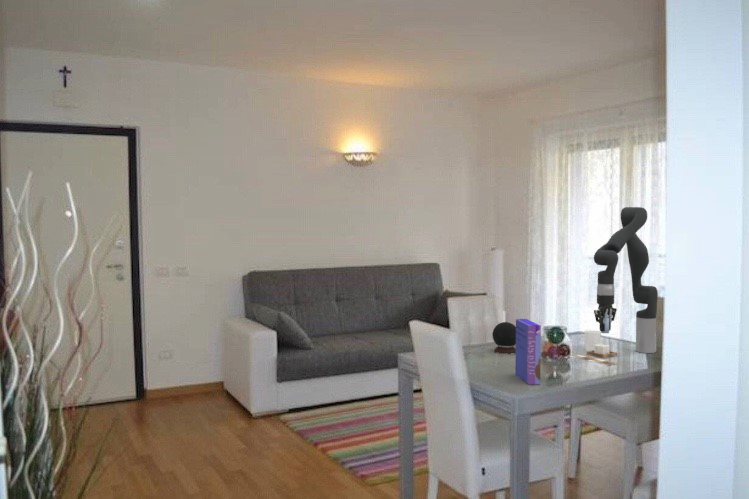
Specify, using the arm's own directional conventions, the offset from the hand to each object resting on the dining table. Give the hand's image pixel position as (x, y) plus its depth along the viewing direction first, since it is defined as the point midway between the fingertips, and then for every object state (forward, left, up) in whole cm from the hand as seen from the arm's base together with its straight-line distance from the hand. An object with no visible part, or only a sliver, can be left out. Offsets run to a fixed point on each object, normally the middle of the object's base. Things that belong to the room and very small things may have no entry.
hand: (605, 330), depth 288 cm
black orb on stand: (+18, -45, -15) cm, 51 cm away
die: (-12, -10, -15) cm, 21 cm away
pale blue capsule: (0, 0, -1) cm, 1 cm away
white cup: (-19, -21, -15) cm, 32 cm away
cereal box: (+52, 0, -15) cm, 54 cm away
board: (0, -7, -15) cm, 17 cm away
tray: (-12, -10, -15) cm, 22 cm away
